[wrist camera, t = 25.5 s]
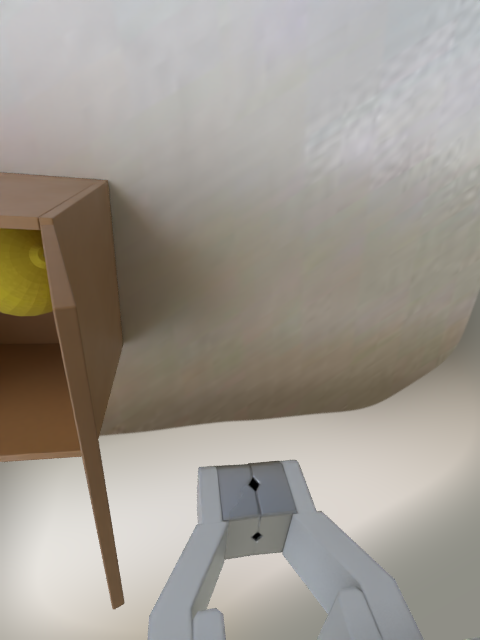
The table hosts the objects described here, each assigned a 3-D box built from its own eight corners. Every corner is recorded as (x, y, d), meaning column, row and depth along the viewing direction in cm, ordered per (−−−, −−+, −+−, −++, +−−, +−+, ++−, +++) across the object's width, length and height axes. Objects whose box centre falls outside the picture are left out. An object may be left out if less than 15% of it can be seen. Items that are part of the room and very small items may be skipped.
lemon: (-57, 308, 18) (-45, 305, 13) (-39, 212, 19) (-20, 167, 13) (52, 322, 22) (100, 324, 17) (65, 241, 23) (115, 216, 17)
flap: (52, 309, 6) (76, 305, 6) (39, 224, 11) (53, 224, 11) (112, 610, 12) (124, 604, 12) (87, 468, 16) (95, 465, 16)
